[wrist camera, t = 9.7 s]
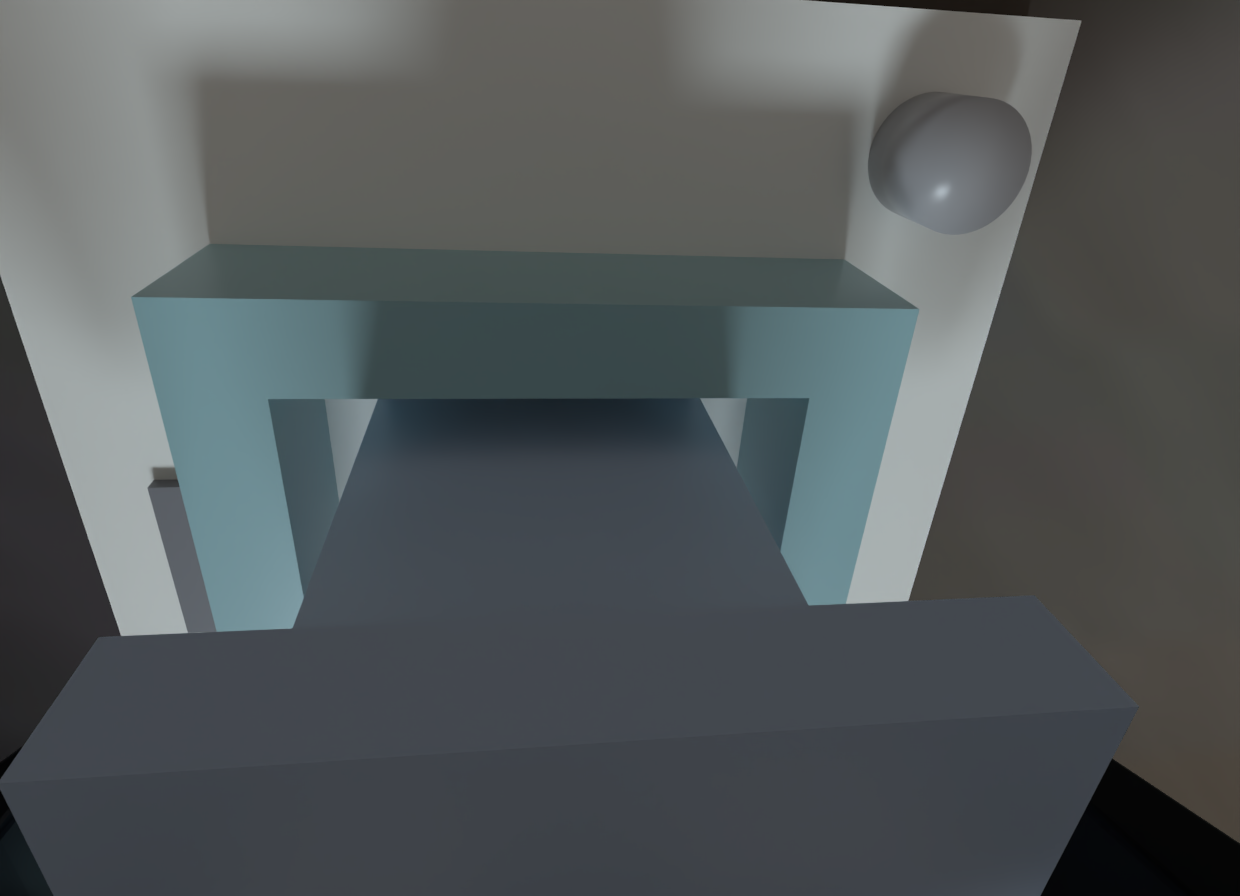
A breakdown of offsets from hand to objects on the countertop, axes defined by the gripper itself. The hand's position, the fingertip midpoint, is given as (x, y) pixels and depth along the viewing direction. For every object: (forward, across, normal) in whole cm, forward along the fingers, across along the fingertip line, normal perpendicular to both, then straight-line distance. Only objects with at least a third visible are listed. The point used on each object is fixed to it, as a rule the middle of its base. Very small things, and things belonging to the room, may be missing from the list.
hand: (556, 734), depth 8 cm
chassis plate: (+4, 0, 0) cm, 4 cm away
